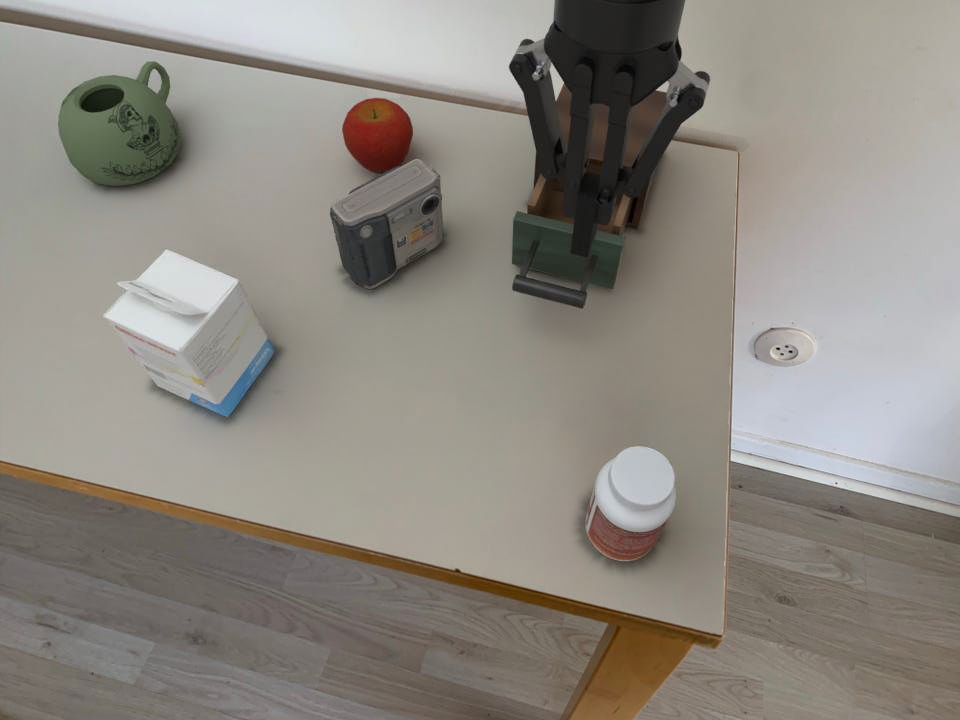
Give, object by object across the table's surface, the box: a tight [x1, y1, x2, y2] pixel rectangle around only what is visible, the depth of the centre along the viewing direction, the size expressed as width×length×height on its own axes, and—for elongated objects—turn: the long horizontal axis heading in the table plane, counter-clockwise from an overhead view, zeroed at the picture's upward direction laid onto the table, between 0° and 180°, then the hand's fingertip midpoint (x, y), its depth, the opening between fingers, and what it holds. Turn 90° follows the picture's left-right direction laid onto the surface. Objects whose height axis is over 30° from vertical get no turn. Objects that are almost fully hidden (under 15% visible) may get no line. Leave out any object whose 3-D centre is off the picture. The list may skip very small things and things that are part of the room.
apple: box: [341, 97, 414, 173], centre depth 84 cm, size 8×8×8 cm
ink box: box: [102, 249, 276, 418], centre depth 66 cm, size 9×8×13 cm
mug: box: [57, 60, 182, 187], centre depth 85 cm, size 16×13×9 cm
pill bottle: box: [584, 445, 677, 562], centre depth 58 cm, size 6×6×11 cm
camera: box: [329, 158, 444, 290], centre depth 75 cm, size 11×6×10 cm, turn 126°
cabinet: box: [533, 82, 667, 231], centre depth 81 cm, size 13×12×9 cm
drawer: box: [511, 164, 634, 309], centre depth 74 cm, size 18×11×7 cm, turn 161°
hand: (583, 243), depth 60 cm, fingers closed
